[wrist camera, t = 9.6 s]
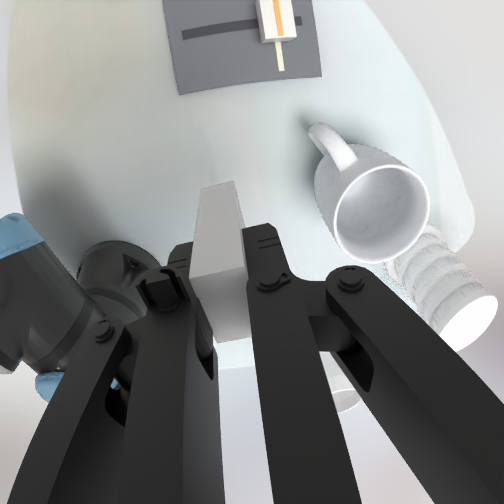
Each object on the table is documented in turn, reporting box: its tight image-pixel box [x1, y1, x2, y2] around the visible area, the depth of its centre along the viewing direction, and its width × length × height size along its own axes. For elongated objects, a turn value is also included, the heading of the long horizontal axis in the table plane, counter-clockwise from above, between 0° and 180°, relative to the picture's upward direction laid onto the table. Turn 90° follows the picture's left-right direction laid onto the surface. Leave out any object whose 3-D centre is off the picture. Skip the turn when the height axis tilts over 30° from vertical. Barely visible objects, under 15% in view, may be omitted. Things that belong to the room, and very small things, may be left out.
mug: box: [308, 122, 430, 263], centre depth 31 cm, size 15×11×13 cm
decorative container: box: [384, 222, 498, 352], centre depth 38 cm, size 12×12×18 cm
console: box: [163, 0, 322, 95], centre depth 25 cm, size 16×14×4 cm
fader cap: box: [255, 0, 297, 43], centre depth 23 cm, size 3×5×4 cm, turn 8°
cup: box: [319, 352, 362, 414], centre depth 49 cm, size 11×11×15 cm
